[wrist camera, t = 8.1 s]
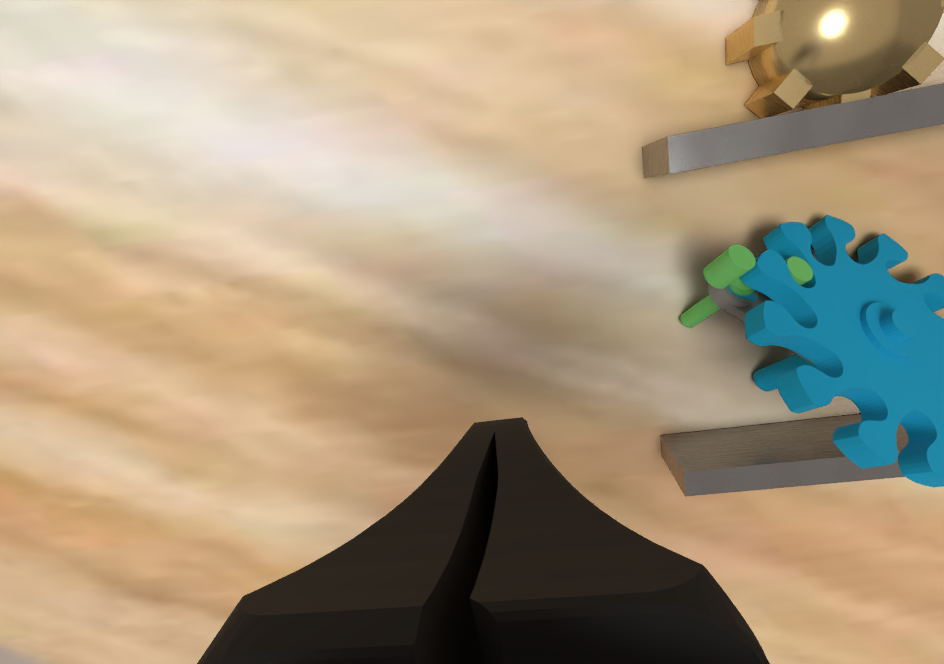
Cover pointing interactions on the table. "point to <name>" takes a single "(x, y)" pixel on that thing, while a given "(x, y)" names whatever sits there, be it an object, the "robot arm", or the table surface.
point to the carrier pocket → (821, 123)
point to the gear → (843, 337)
